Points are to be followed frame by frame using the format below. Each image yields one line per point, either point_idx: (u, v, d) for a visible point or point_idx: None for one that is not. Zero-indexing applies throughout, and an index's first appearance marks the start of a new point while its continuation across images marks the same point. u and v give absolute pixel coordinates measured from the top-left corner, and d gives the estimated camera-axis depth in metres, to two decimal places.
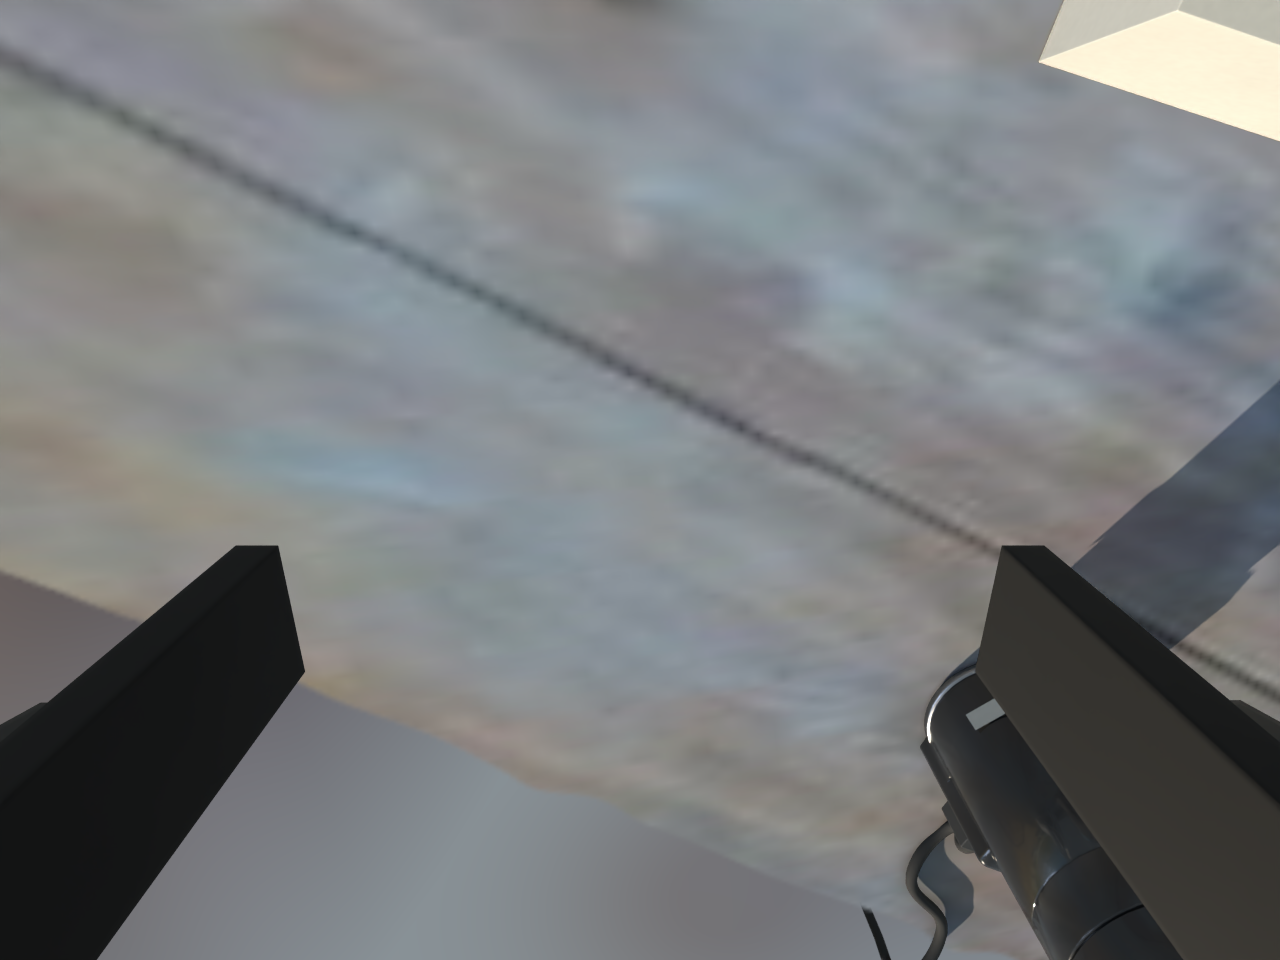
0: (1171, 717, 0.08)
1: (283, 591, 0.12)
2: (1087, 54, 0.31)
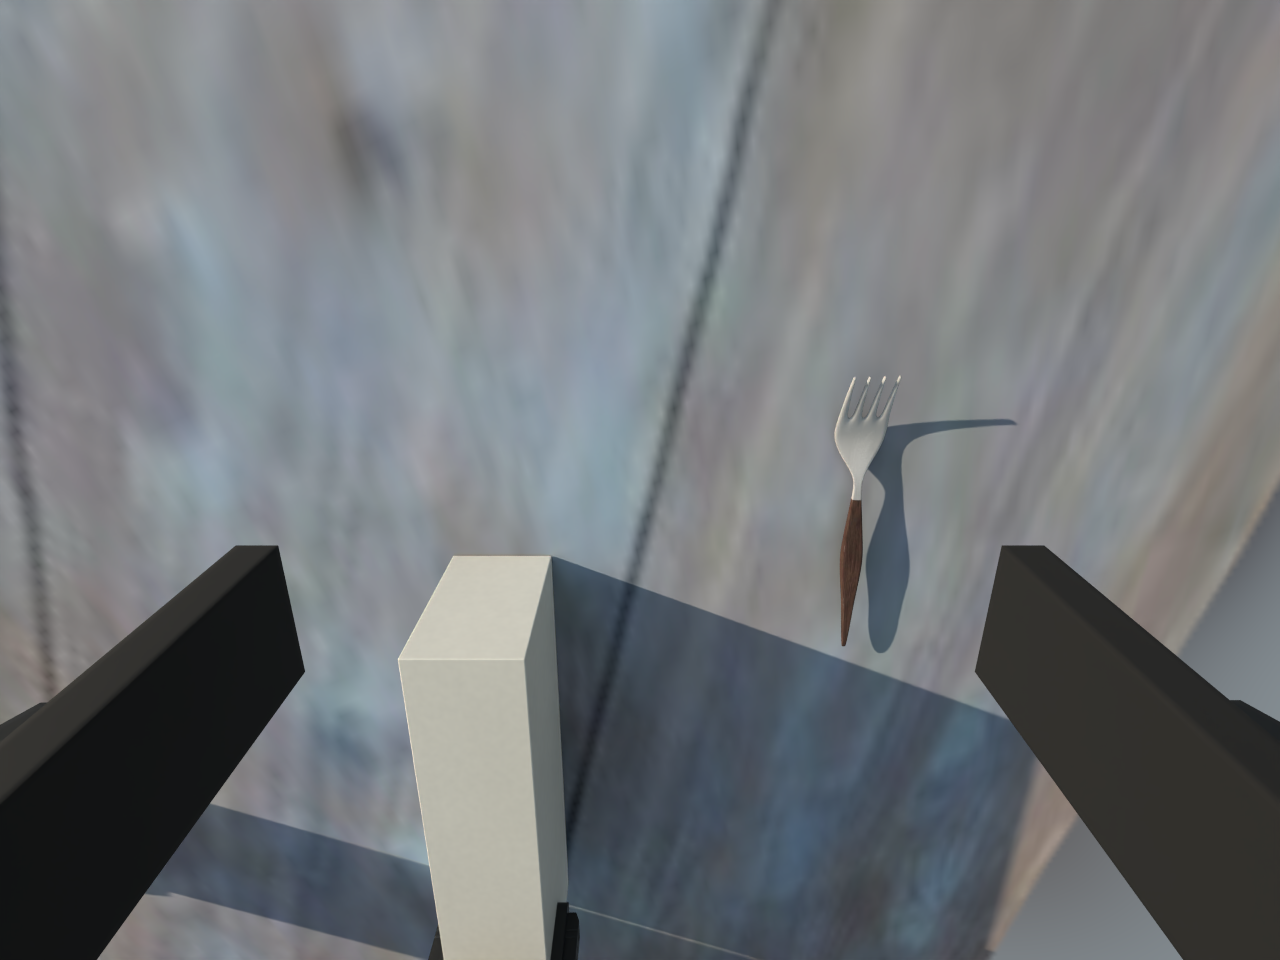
0: (1171, 717, 0.08)
1: (283, 591, 0.12)
2: None
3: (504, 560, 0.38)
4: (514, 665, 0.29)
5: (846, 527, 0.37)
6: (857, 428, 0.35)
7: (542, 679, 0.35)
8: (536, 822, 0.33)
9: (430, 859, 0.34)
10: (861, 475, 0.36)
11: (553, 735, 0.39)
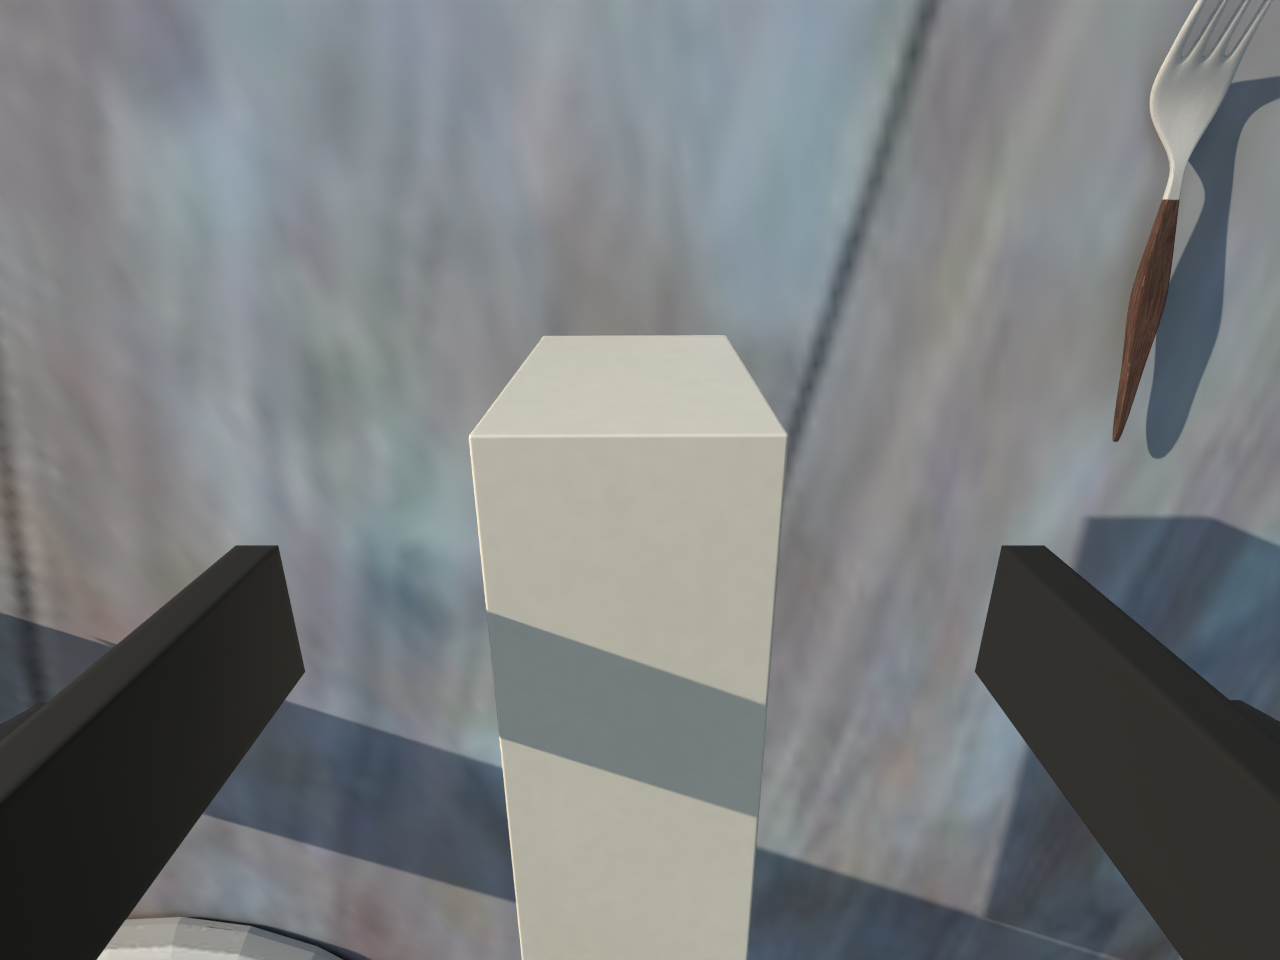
0: (1172, 717, 0.08)
1: (283, 591, 0.12)
2: None
3: (642, 339, 0.20)
4: (761, 451, 0.12)
5: (1149, 247, 0.25)
6: (1190, 78, 0.23)
7: None
8: (755, 838, 0.15)
9: (521, 915, 0.16)
10: (1185, 158, 0.24)
11: None
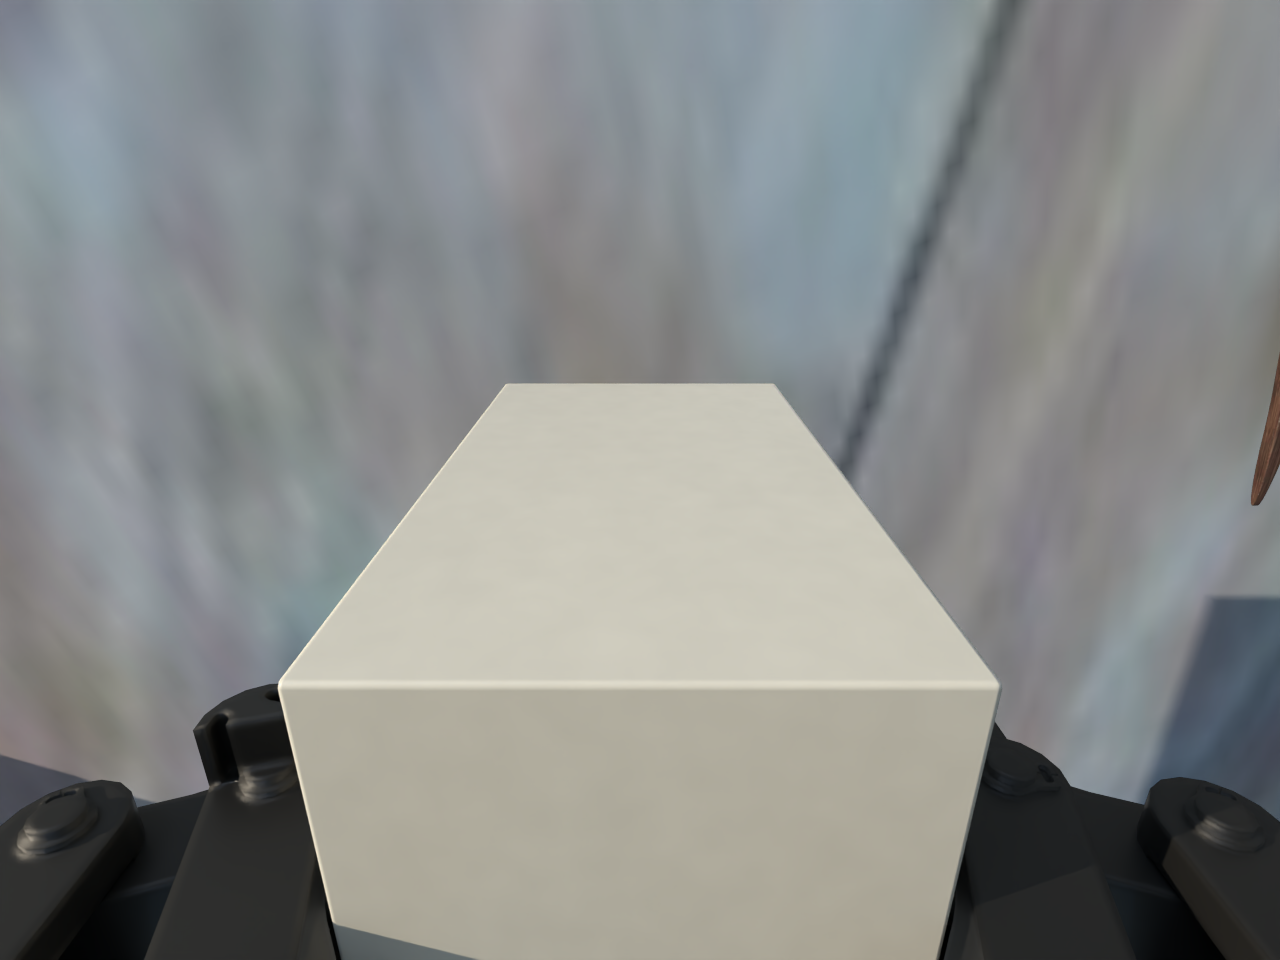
0: None
1: None
2: None
3: (652, 390, 0.13)
4: (939, 716, 0.05)
5: None
6: None
7: None
8: None
9: None
10: None
11: None
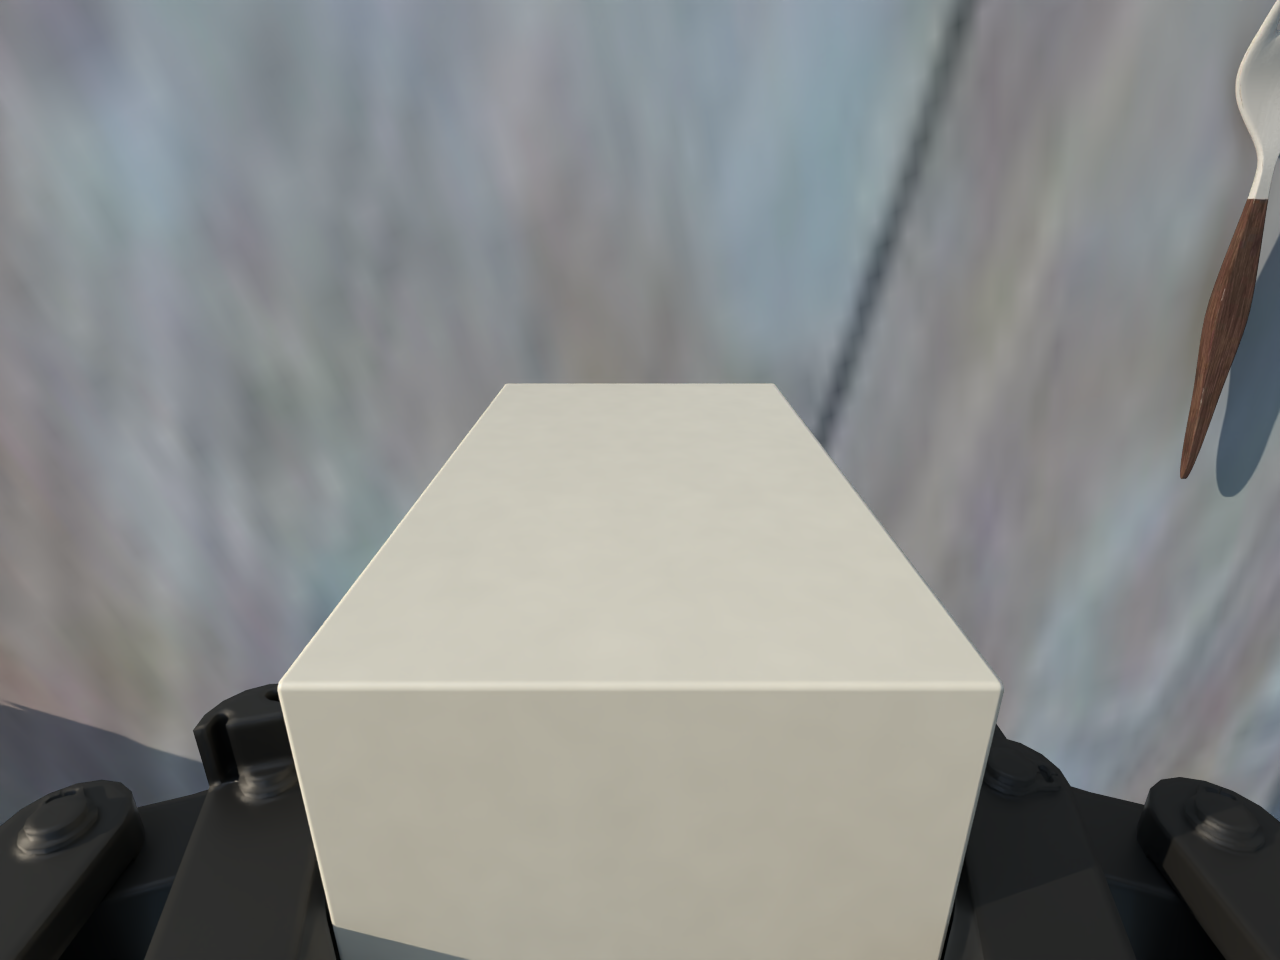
0: None
1: None
2: None
3: (652, 390, 0.13)
4: (942, 716, 0.05)
5: (1231, 254, 0.22)
6: None
7: None
8: None
9: None
10: (1277, 150, 0.20)
11: None
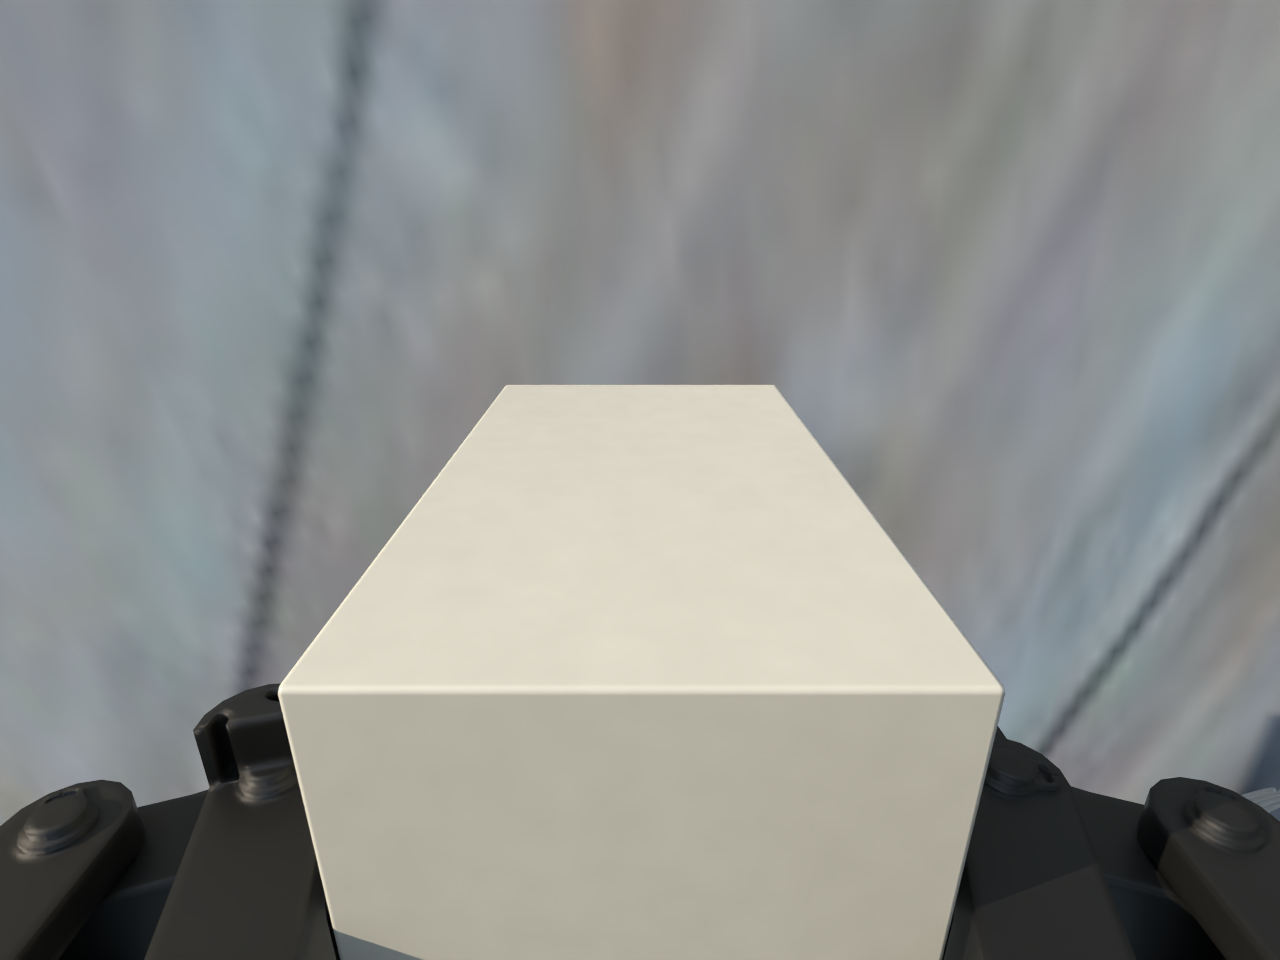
0: None
1: None
2: None
3: (652, 392, 0.13)
4: (942, 720, 0.05)
5: None
6: None
7: None
8: None
9: None
10: None
11: None
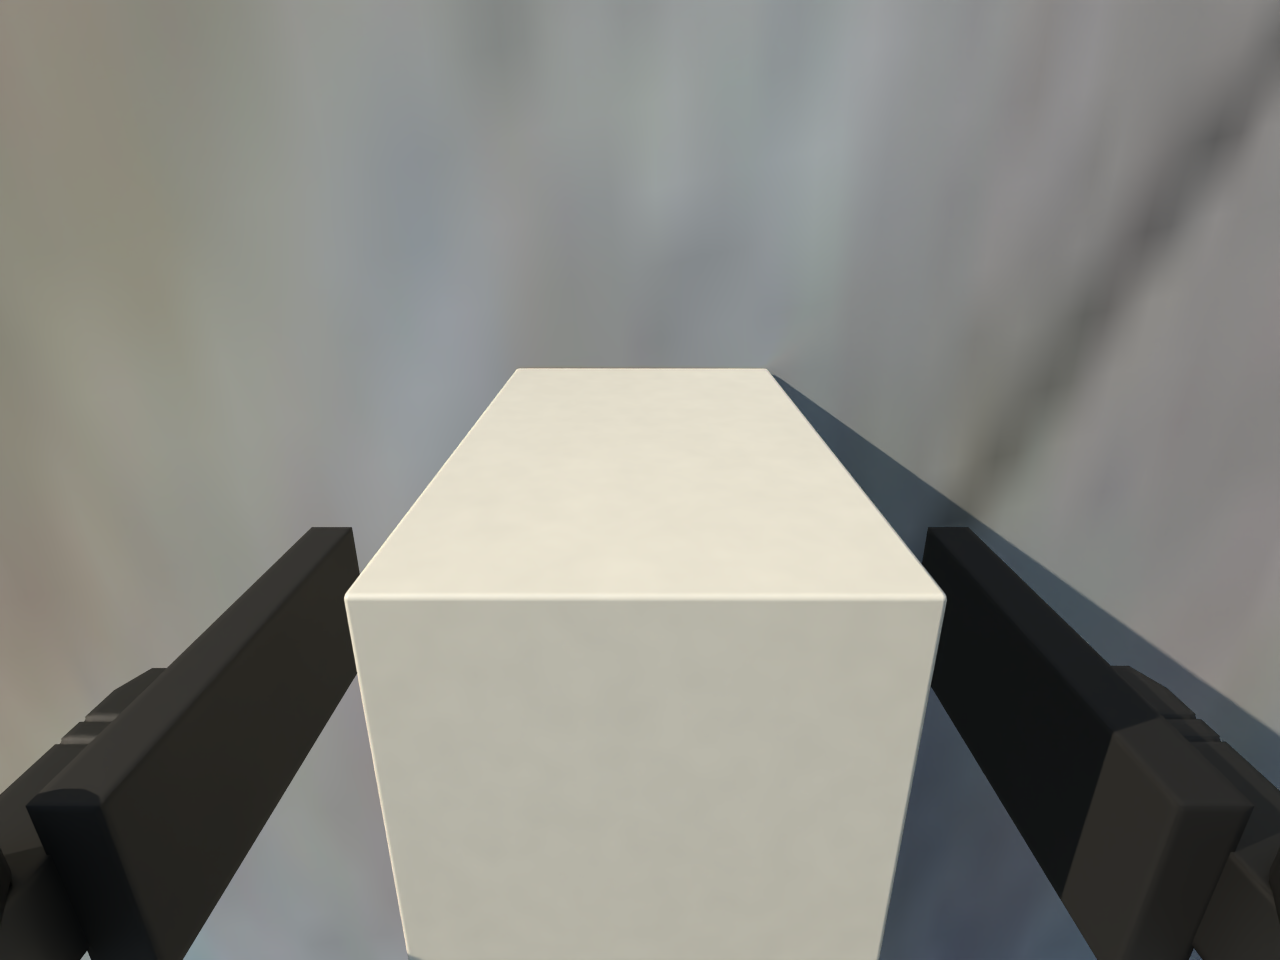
0: (1053, 678, 0.09)
1: (355, 570, 0.13)
2: None
3: (653, 373, 0.14)
4: (896, 624, 0.06)
5: None
6: None
7: None
8: None
9: None
10: None
11: None
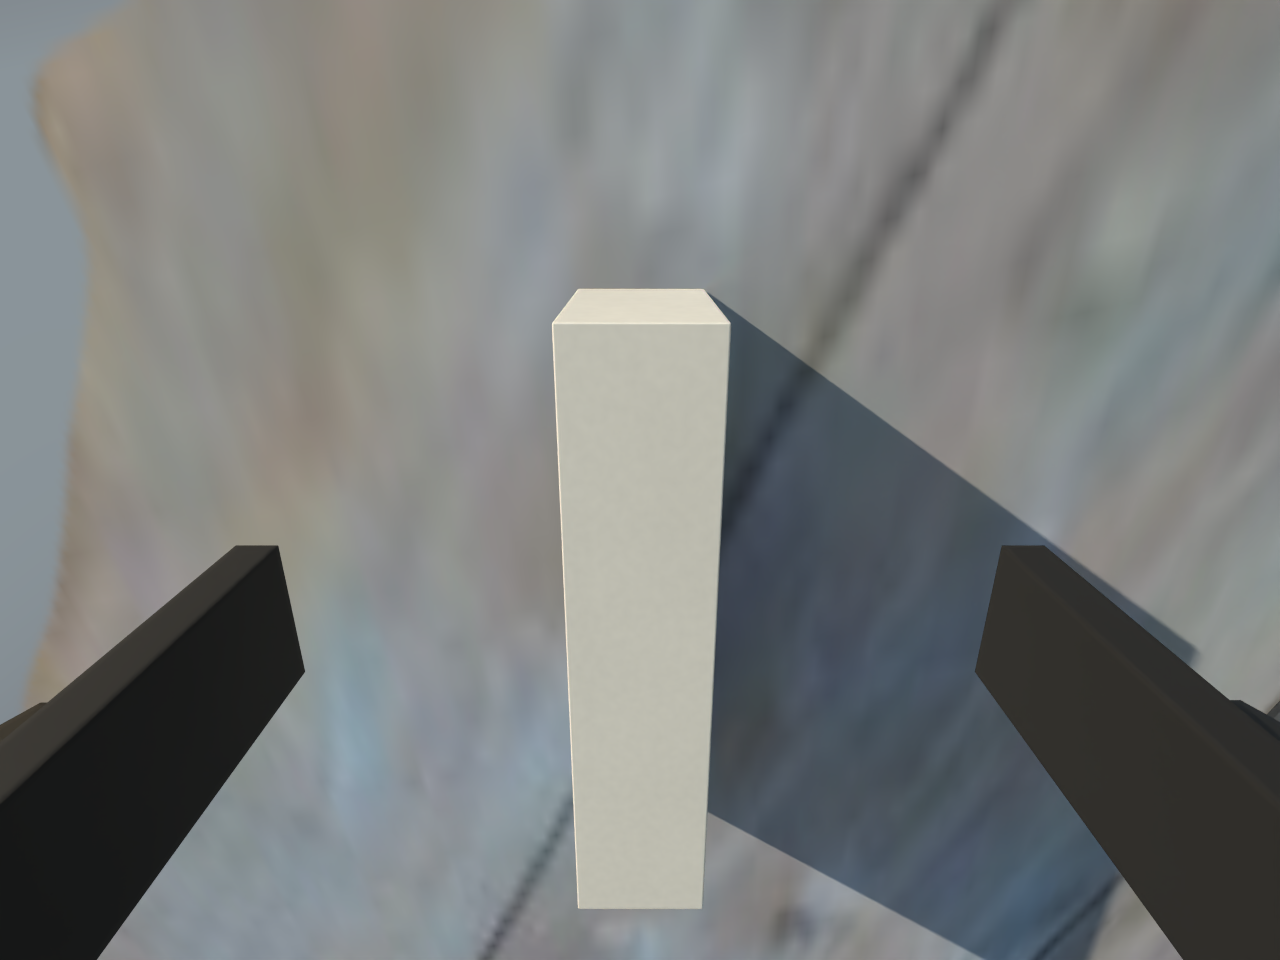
0: (1172, 717, 0.08)
1: (282, 591, 0.12)
2: None
3: (646, 290, 0.29)
4: (716, 332, 0.21)
5: None
6: None
7: None
8: (717, 590, 0.24)
9: (569, 648, 0.25)
10: None
11: None
